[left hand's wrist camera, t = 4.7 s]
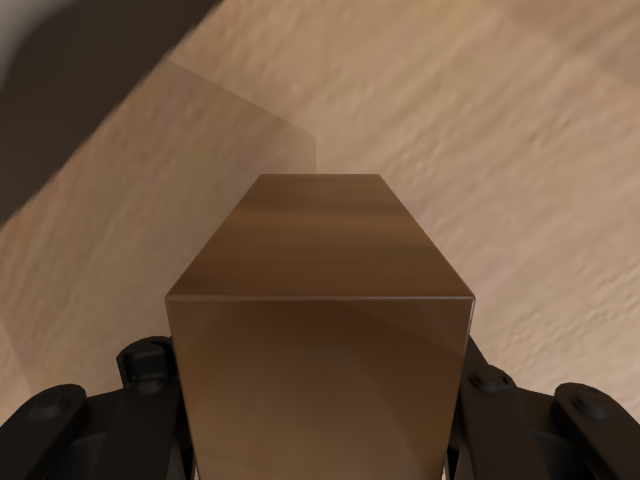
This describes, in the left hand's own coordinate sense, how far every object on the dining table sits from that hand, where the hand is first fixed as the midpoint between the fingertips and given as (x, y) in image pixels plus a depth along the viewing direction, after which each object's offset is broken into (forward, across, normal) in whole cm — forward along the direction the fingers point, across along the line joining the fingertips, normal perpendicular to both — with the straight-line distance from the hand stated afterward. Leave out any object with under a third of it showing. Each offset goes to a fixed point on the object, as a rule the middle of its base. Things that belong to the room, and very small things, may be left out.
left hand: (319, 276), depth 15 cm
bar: (+1, 0, -8) cm, 8 cm away
